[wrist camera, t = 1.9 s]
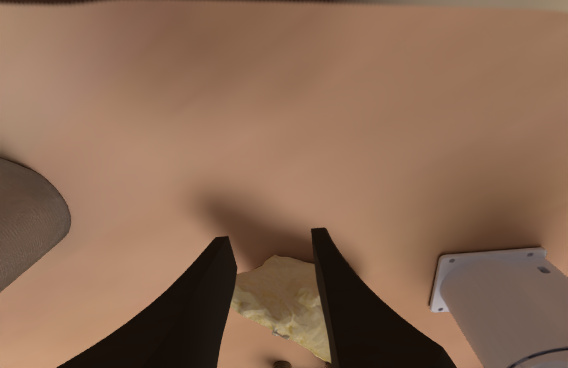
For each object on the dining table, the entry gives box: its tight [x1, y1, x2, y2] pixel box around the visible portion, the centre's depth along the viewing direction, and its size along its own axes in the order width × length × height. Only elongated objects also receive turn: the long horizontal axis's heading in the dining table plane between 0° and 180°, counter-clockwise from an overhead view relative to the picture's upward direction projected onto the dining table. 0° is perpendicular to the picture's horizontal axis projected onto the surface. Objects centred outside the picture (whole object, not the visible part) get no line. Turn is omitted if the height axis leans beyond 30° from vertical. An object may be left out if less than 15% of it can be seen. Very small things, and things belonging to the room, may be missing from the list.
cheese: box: [230, 255, 331, 363], centre depth 24 cm, size 15×7×15 cm
